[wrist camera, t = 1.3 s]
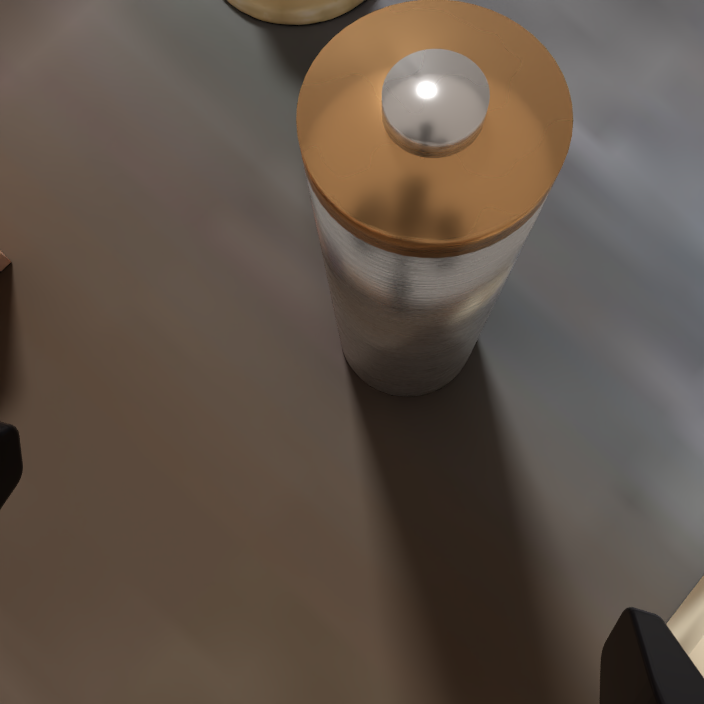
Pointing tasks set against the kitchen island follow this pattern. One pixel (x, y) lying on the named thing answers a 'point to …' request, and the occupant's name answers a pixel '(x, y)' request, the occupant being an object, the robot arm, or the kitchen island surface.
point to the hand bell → (295, 10)
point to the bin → (3, 261)
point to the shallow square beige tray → (691, 625)
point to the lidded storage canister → (427, 178)
